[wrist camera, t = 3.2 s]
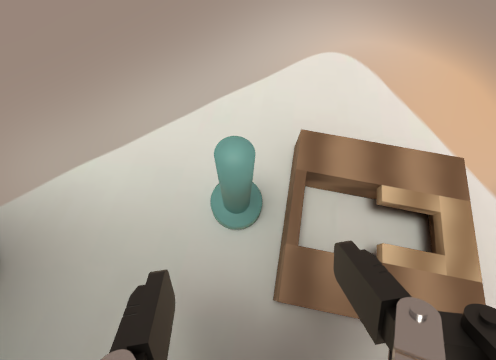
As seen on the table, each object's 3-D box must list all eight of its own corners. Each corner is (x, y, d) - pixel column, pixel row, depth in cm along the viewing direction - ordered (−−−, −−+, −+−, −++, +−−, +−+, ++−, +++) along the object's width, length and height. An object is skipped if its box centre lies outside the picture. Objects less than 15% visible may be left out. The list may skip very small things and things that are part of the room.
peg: (206, 224, 26) (185, 182, 16) (218, 178, 28) (206, 114, 18) (256, 234, 26) (267, 197, 15) (264, 187, 27) (279, 127, 17)
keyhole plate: (273, 300, 23) (278, 301, 20) (294, 146, 29) (301, 129, 26) (455, 338, 23) (491, 346, 19) (438, 173, 29) (464, 158, 25)
